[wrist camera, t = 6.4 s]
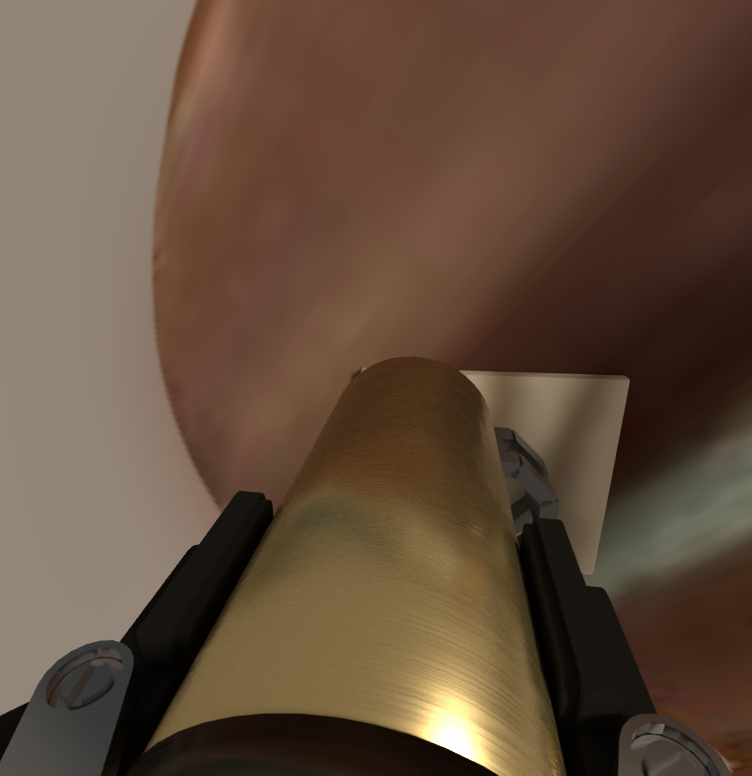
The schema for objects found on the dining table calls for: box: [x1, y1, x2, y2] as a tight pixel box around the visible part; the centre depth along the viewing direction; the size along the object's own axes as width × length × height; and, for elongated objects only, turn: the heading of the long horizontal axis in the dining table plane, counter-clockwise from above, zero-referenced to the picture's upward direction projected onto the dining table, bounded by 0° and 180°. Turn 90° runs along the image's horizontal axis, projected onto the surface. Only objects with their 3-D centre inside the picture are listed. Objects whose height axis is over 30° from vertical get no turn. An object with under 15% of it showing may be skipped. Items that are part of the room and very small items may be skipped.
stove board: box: [361, 368, 630, 575], centre depth 40 cm, size 20×18×1 cm
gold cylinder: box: [126, 357, 567, 776], centre depth 10 cm, size 6×6×14 cm
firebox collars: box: [494, 427, 559, 550], centre depth 37 cm, size 9×9×6 cm
